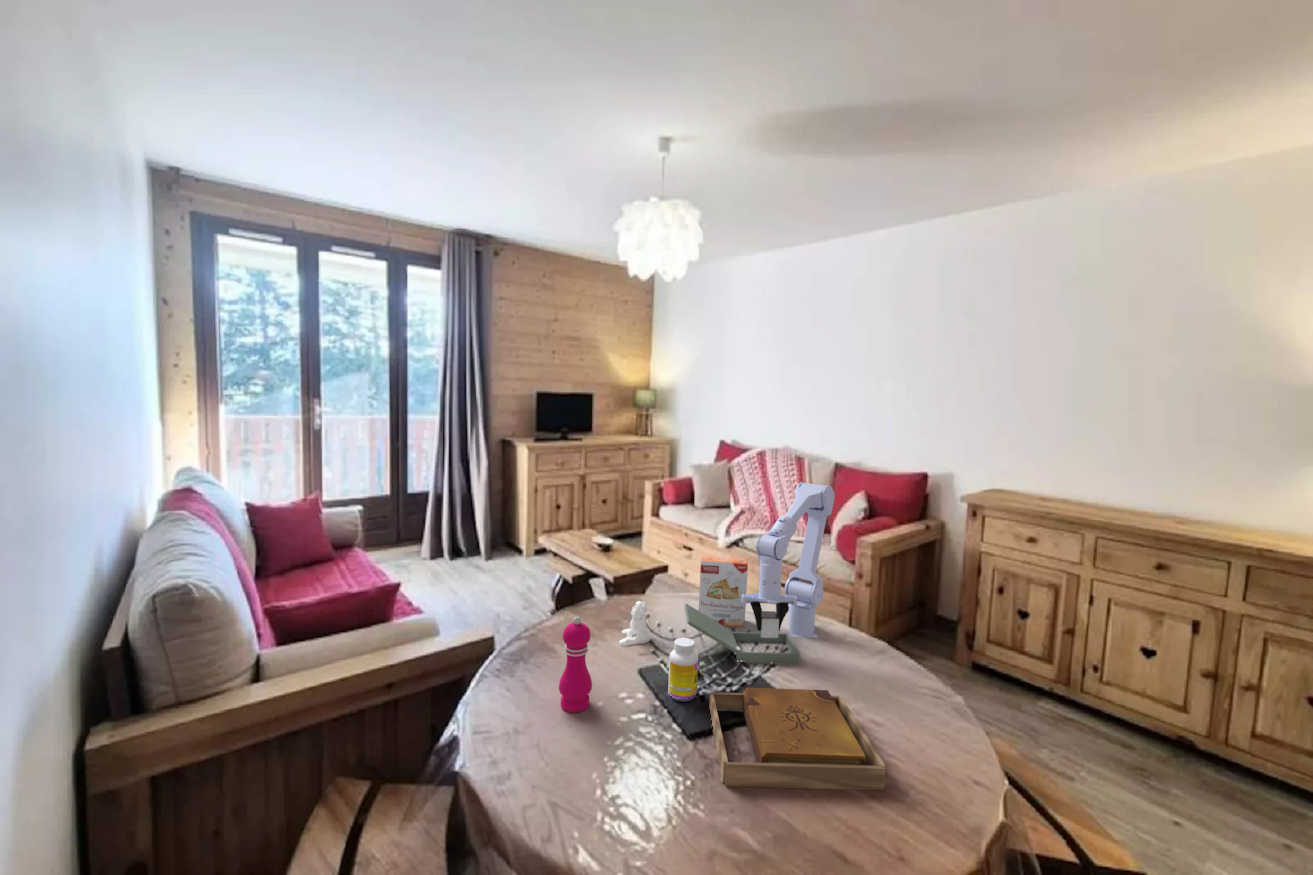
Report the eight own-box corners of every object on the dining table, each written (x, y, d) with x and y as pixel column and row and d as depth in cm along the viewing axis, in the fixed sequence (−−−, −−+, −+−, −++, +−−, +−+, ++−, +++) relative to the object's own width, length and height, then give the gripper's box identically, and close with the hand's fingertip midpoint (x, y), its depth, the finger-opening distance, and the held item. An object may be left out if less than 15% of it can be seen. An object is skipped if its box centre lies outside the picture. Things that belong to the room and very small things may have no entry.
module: (757, 630, 156) (758, 611, 156) (774, 631, 156) (775, 611, 156) (761, 637, 152) (762, 617, 151) (778, 638, 152) (779, 618, 151)
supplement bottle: (698, 704, 128) (700, 648, 127) (668, 703, 128) (670, 647, 127) (695, 689, 135) (697, 636, 134) (667, 688, 135) (669, 635, 134)
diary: (741, 712, 126) (743, 687, 126) (826, 715, 126) (827, 690, 126) (760, 782, 104) (762, 751, 103) (863, 785, 104) (865, 754, 103)
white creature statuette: (621, 635, 165) (623, 594, 164) (651, 636, 164) (653, 595, 163) (618, 649, 155) (619, 606, 154) (650, 650, 155) (651, 607, 154)
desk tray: (708, 709, 126) (709, 692, 126) (839, 713, 126) (840, 695, 126) (723, 786, 101) (724, 764, 101) (886, 790, 102) (887, 768, 101)
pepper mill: (585, 716, 122) (587, 624, 121) (553, 711, 123) (555, 621, 122) (595, 699, 129) (598, 612, 128) (565, 694, 130) (567, 609, 129)
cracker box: (697, 629, 170) (700, 560, 169) (698, 621, 176) (700, 554, 175) (744, 633, 169) (748, 563, 167) (744, 625, 175) (747, 557, 173)
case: (683, 642, 160) (684, 603, 160) (786, 645, 161) (788, 606, 160) (685, 664, 147) (687, 621, 147) (798, 667, 148) (800, 624, 147)
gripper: (745, 584, 149) (743, 635, 150) (801, 585, 149) (798, 636, 150) (741, 575, 156) (739, 624, 157) (794, 577, 156) (792, 625, 157)
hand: (768, 629), depth 154 cm, fingers closed on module, 4 cm apart
